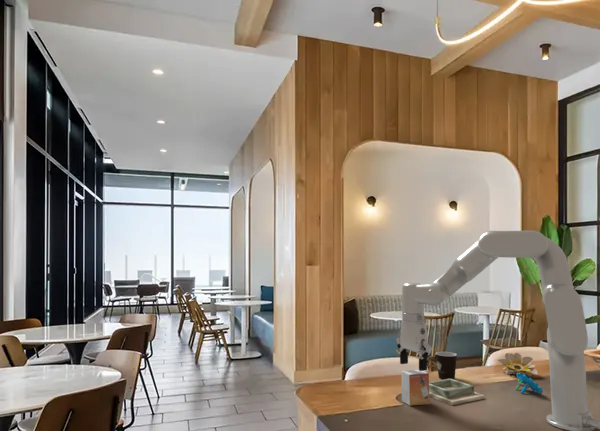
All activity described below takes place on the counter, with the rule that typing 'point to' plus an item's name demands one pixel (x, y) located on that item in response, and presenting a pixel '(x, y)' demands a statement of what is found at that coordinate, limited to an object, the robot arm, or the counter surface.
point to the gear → (527, 383)
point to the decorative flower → (518, 364)
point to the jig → (453, 392)
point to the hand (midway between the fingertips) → (413, 366)
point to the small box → (415, 387)
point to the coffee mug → (446, 364)
